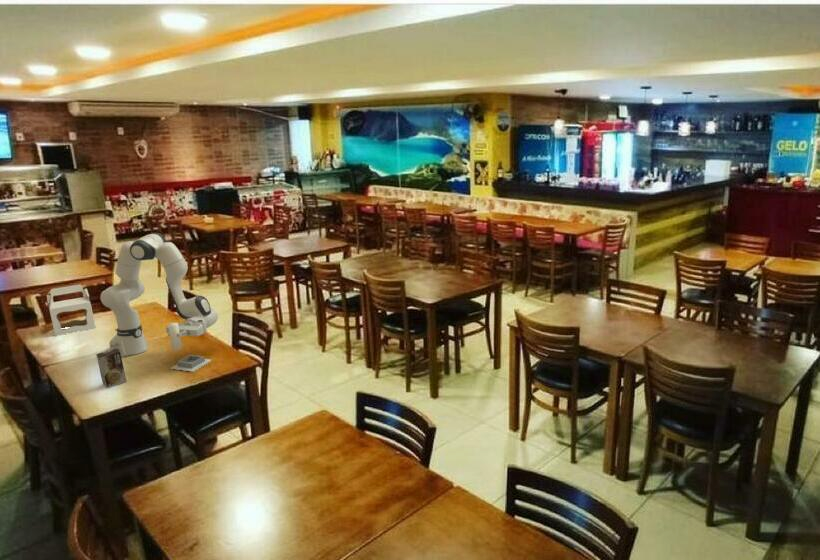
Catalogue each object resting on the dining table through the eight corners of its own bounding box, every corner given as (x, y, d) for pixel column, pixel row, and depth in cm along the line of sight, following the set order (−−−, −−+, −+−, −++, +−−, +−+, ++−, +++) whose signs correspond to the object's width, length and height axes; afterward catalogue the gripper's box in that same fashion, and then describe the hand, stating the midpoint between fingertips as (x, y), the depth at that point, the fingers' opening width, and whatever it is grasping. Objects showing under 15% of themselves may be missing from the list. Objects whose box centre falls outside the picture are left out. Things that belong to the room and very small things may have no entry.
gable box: (94, 322, 360) (85, 281, 352) (96, 328, 349) (87, 285, 342) (54, 330, 348) (44, 287, 341) (54, 336, 338) (44, 292, 330)
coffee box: (122, 378, 275) (116, 347, 270) (126, 382, 270) (120, 351, 266) (102, 384, 268) (95, 353, 264) (106, 388, 264) (100, 357, 260)
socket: (171, 369, 283) (169, 363, 282) (190, 358, 295) (189, 352, 294) (192, 372, 278) (191, 366, 277) (211, 361, 290) (211, 355, 289)
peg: (170, 349, 282) (166, 325, 279) (177, 346, 286) (172, 322, 283) (177, 350, 280) (173, 326, 277) (184, 347, 284) (179, 323, 281)
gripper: (176, 318, 296) (156, 327, 283) (207, 321, 288) (188, 330, 276) (178, 329, 297) (158, 339, 285) (209, 332, 290) (190, 342, 278)
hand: (173, 335), depth 280 cm, fingers closed on peg, 5 cm apart
